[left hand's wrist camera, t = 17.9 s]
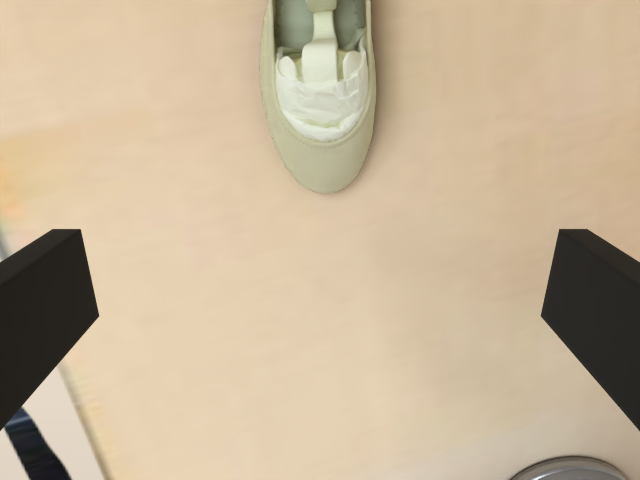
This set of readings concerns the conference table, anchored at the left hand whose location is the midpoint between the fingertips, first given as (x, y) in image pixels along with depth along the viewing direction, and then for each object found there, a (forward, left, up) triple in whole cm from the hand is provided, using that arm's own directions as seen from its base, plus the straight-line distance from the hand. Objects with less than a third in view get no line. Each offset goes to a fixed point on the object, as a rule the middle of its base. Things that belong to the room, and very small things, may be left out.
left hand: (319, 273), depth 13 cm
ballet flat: (+7, +4, -24) cm, 25 cm away
